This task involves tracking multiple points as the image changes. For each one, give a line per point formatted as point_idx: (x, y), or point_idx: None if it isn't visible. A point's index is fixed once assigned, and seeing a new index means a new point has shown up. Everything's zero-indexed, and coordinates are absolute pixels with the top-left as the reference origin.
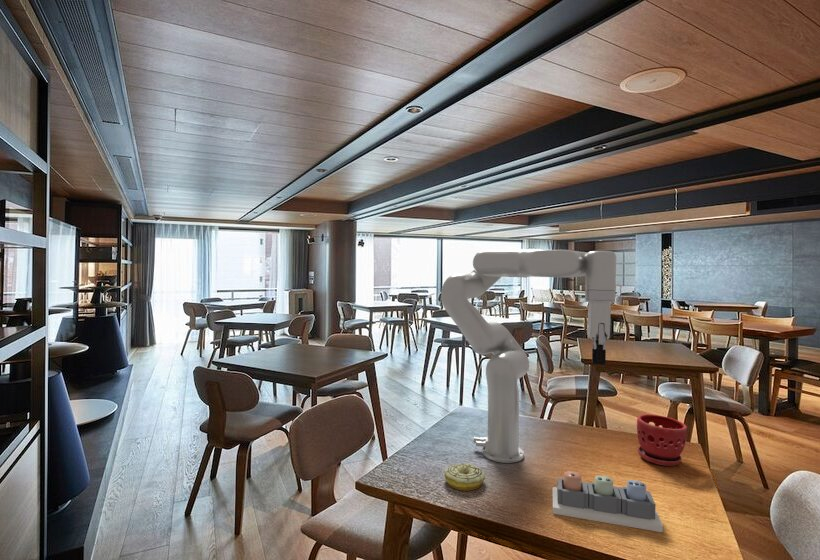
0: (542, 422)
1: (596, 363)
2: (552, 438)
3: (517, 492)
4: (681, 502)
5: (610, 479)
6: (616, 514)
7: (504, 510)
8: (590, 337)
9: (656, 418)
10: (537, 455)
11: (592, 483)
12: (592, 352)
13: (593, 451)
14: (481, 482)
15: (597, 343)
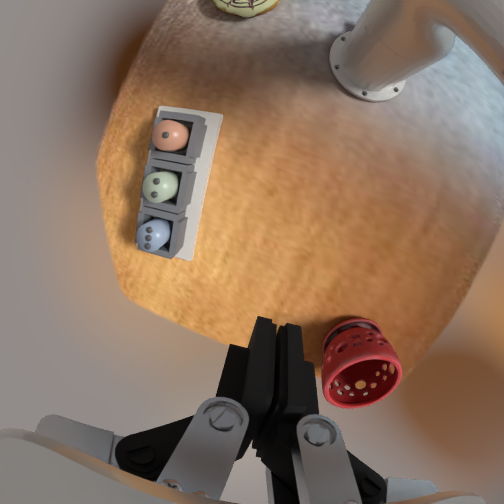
0: (498, 202)
1: (252, 336)
2: (444, 191)
3: (220, 62)
4: (216, 305)
5: (157, 199)
6: None
7: (168, 46)
8: (12, 431)
9: (392, 383)
10: (373, 129)
11: (183, 173)
12: (288, 375)
13: (391, 248)
14: (227, 12)
15: (120, 445)
